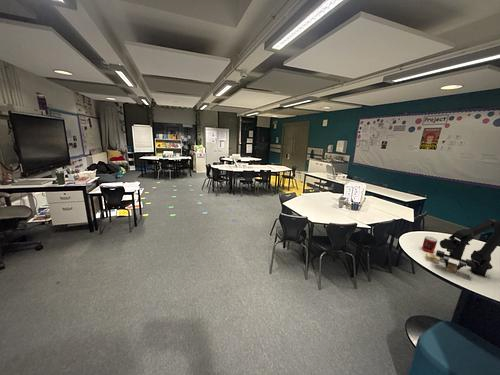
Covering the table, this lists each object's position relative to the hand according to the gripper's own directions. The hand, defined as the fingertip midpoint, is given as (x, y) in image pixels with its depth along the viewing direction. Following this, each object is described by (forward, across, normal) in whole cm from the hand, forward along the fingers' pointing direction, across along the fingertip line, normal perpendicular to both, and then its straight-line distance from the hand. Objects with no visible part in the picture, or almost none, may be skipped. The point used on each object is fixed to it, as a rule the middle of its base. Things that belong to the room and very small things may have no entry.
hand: (450, 269), depth 140 cm
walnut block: (+1, 0, 0) cm, 1 cm away
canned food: (+1, +13, -23) cm, 26 cm away
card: (+1, -6, +1) cm, 6 cm away
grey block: (+1, +4, -12) cm, 13 cm away
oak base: (+1, +10, -7) cm, 12 cm away
